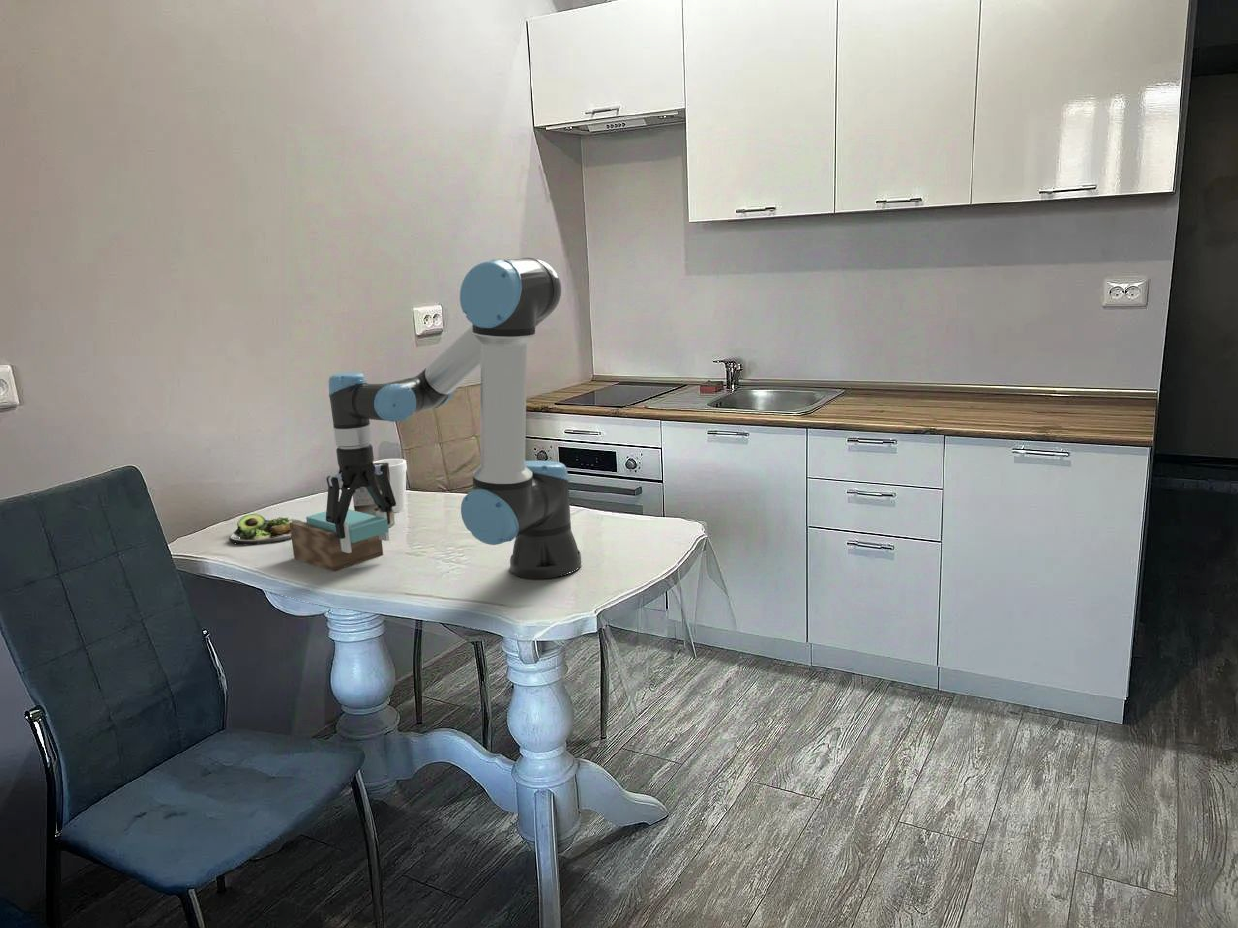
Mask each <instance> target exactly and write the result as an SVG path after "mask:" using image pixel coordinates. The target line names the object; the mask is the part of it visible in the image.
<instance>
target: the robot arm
mask: <svg viewBox="0 0 1238 928" xmlns="http://www.w3.org/2000/svg"><path fill="white" fill-rule="evenodd" d="M561 283H562V282H561V281H560V277H559V275H558V273H557V271H556V270H555V269H554V268H553V267H552V266H551V265H550V264H549V263H548V262H546V261H544V260H541V259H539V258H535V257H523V258H506V259H505V258H503V259H502V258H499V259H491V260H489V261H483V262H480V263H478V264H477V265H474V266H473V267H472V268H471V269H470V270H469V271H468V272H467V273H466V275H465V276H464V278H463V280H462V283H461V286H460V290H459V304H460V307H461V310H462V313H464V314H465V318H466V319H467V320H468V321H469V322H470V323H471V324H472V325H471V326H470V327H469V328H468V329H467V330H466V331H464V332H463V333H462V334H461V335H460V336H459V337H457V339H456V340H454V341H453V342H452V343H451V344H450V345H449V346H448V347H447V348H446V349H445V350H443V351H442V353H440V354H439V355H438V356H436V358H435V359H434V360H433V361H432V362H430V363H429V365H427V366H426V367H425V368H424V369H423V370H422V371H421V372H419V373H418V374H417V375H415V376H412V377H408V378H404V379H399V380H395V381H390V382H386V383H385V382H384V383H368V382H367V380H366V377H365V374H364V373H362V372H358V371H357V372H355V371H352V372H351V371H350V372H349V371H348V372H342V373H341V372H340V373H335V374H332V375H331V376H329V378H328V396H329V402H330V410H331V417H332V425H333V431H334V432H333V433H334V441H335V442H334V443H335V446H337V448H336V449H335V451H336V457H337V458H336V459H337V464H338V465H337V466H338V468H339V470H338V474H335V475H333V476H332V475H328V476H327V477H326V483H327V500H326V521H327V522H330V523H333V524H335V527H336V535H337V538H340V542H341V550H342V551H343V552H346V553H351V552H352V550H351V542H350V534H349V525H348V523H345V519H346V516H347V512H348V509H350V506H351V502H352V500H353V494H354V493H355V490H356V489H359V488H361V487H365V488H366V489H367V490H368V492H369V493H370V495H371V497H372V498H373V500H374V501H375V503H376V505H377V506H378V508H379V509H380V511H376V514H377V517H381V518H385V519H387V522H388V525H389V524H390V518H389V512H390V511H391V510H392V507H393V506H395V505H396V501H395V498H394V495H393V492H392V489H391V486H390V483H389V480H388V477H387V466H386V465H382V464H377V465H374V464H373V462H374V460H375V459H374V458H375V457H374V449H373V445H372V444H371V443H372V441H373V438H372V430H371V422H370V420H375V421H387V422H391V423H395V422H404V421H408V420H409V419H410V418H411V416H412V415H414V414H417V413H420V412H424V411H428V410H435V409H438V408H440V407H441V406H444V405H447V404H448V403H449V402H450V401H451V399H452V396H453V394H454V391H455V390H456V389H457V388H458V387H459V386H461V385H462V384H463V383H464V382H465V381H466V380H468V379H469V378H470V377H472V375H474V373H476V372H477V371H478V370H480V464H479V465H478V466H477V468H475V469H474V470H473V472H472V489H471V490H470V491H468V492H467V493H466V495H465V496H464V497H463V499H462V500H461V504H460V515H461V518H462V522H463V524H464V526H465V528H466V529H467V531H469V532H470V533H471V535H472V536H473V537H474V538H475V539H476V540H478V541H479V542H481V543H483V544H485V545H491V546H496V545H502V544H504V543H508V542H511V541H513V540H514V543H513V548H512V549H513V550H512V554H511V556H510V558H509V563H510V565H509V566H510V567H509V569H510V573H512V575H515V576H517V577H520V578H523V579H529V580H542V579H543V580H545V578H548V579H553V577H556V578H559V577H558V576H561V575H565V574H567V573H569V572H572V571H574V570H576V569H577V568H579V567H580V565H581V563H582V554H581V552H580V550H579V548H578V545H577V542H576V540H575V537H574V534H573V532H572V522H571V508H570V506H571V504H570V488H569V487H570V486H569V483H570V480H569V477H568V469H567V466H566V465H565V464H564V463H562V462H559V461H553V460H526V433H527V432H526V423H527V422H526V421H527V420H526V419H527V416H526V415H527V363H528V362H527V361H528V360H527V359H528V357H527V356H528V355H527V354H528V352H527V351H528V343H529V341H531V340H532V338H534V337H535V336H536V327H537V326H538V325H539V324H540V323H542V322H543V321H545V319H547V318H548V317H549V316H550V315H551V314H552V313H553V312H554V311H555V310H556V308H557V306H558V305H559V303H560V301H561V297H562V285H561ZM374 472H375V474H376V477H377V480H378V483H379V486H380V489H381V492H382V494H381V493H380V491H379V489H378V488H377V486H376V485H377V484H376V483H375V481H374V480H373V478H372V477H373V475H374ZM341 481H342V482H341ZM341 483H342V484H341ZM340 485H341V488H340ZM340 491H341V493H340ZM382 495H383V496H382ZM379 539H380V540H382V541H385V542H388V541H390V535H389V532H387V533H384V534H380V535H379ZM581 566H582V565H581ZM580 568H581V567H580ZM580 568H579V569H580ZM565 576H566V575H565ZM561 577H562V576H561Z"/></svg>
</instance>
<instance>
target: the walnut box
mask: <svg viewBox="0 0 1238 928" xmlns="http://www.w3.org/2000/svg"><path fill="white" fill-rule="evenodd" d="M290 531H291V543H292V552H293V558H294V559H295V560H298V561H302V562H305V563H308V564H311V565H314V566H316V567H320V568H322V569H326V570H329V571H331V572H336V571H339V570H342V569H344V568H348V567H350V566H354V565H356V564H360V563H363V562H367V561H369V560H372V559H375V558H378V557H381V556H384V550H383V549H384V548H383V540H380V539H379V535H377V536H374V537H371V538H368V539H364V540H361V541H358V542H355V543H352V542H351V550H352V552H351V553H346V552H343V551H342V550H341V542H340V539H338V538H335V532H332V531H329V530H325V529H322V528H318V527H315V526H311V525H308V524H304V523H301V522H297V521H294V522H290Z"/></svg>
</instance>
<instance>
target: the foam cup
mask: <svg viewBox="0 0 1238 928" xmlns="http://www.w3.org/2000/svg"><path fill="white" fill-rule="evenodd" d="M373 463H389V473H390V482H391V489H392V492H393V495H394V498H395V501H396V505H395V506H393V510H394V514H395V513H400V512H403V511H404V510H405V509H406V493H407V490H406V489H407V488H406V487H407V486H406V485H407V484H406V483H407V469H408V465H407V460H406V459H404V458H386V459H380V460H376V461H373Z"/></svg>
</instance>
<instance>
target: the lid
mask: <svg viewBox="0 0 1238 928" xmlns="http://www.w3.org/2000/svg"><path fill="white" fill-rule="evenodd" d="M305 519H306V522H307V524H308V525H311V526H315V527H318V528H322V529H325V530H329V531H332V532H335V538H337V535H336V527H335V524H333V523H330V522H327V521H326V511H322V512H319V513H315V514H312V515H307V516H306V517H305ZM345 523H348V525H349V534H350V542H352V543H355V542H358V541H361V540H364V539H368V538H371V537H374V536H377V535H380V534H384V533H387V532H388V533H389V532H390V531H389V528H388V522H387V519H385V518H381V517H377V516H373V515H370V514H366V513H362V512H358V511H354V509H350V508H349V509H348V512H347V516H346V519H345ZM338 539H340V538H338Z"/></svg>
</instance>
